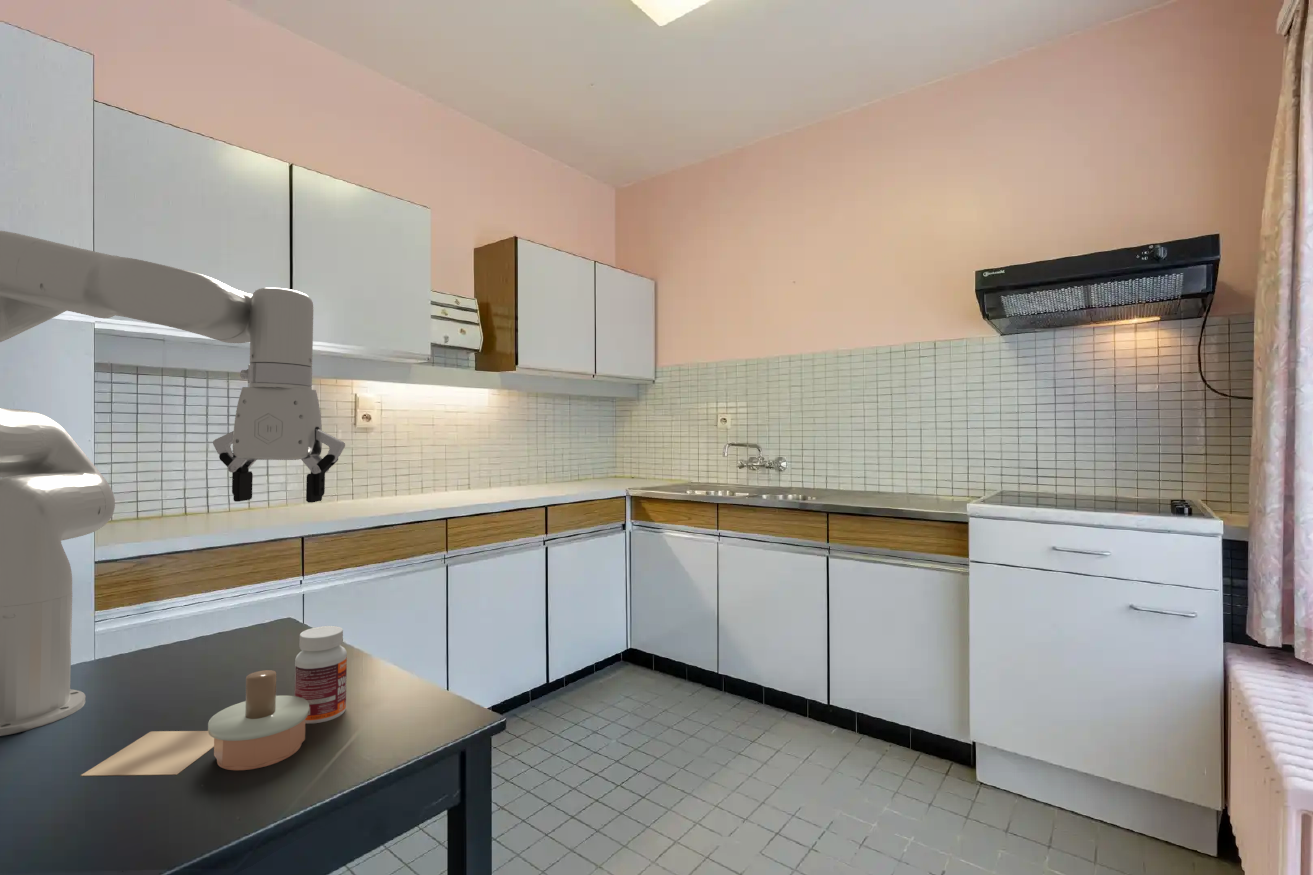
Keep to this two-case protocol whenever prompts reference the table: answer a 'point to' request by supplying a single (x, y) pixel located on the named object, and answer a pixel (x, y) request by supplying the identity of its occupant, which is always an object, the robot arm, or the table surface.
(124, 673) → the table surface
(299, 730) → the bowl
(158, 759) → the mat
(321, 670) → the pill bottle
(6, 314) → the robot arm
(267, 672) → the lid
